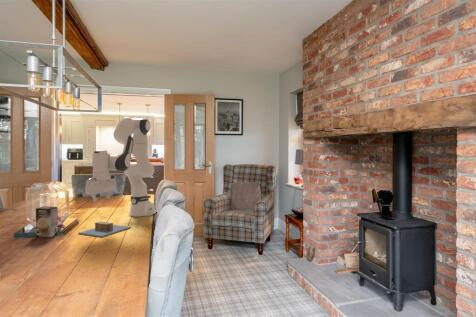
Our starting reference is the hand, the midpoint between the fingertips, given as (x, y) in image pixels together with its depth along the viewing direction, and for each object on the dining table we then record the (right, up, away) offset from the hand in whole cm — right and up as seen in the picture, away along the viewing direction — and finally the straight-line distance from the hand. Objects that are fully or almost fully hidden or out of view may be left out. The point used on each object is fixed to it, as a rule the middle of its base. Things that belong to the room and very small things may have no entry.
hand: (101, 199), depth 183 cm
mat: (+3, -18, -1) cm, 19 cm away
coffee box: (-26, -19, -10) cm, 34 cm away
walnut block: (-3, -16, +1) cm, 16 cm away
